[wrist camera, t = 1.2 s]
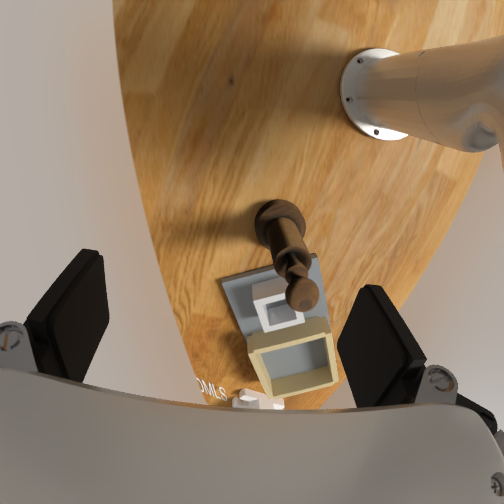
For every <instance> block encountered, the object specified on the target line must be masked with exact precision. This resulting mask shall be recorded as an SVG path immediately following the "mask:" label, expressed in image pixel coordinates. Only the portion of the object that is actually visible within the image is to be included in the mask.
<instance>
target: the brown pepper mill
mask: <svg viewBox="0 0 504 504" xmlns="http://www.w3.org/2000/svg"><path fill="white" fill-rule="evenodd" d="M255 230H256V235H257V238H258V240H259V241H260V243H261V244H262V245H263V246H264V247H265V248H267V249H269V250H270V251H271V255H272V259H273V264H274V269H275V271H276V273H277V274H278V275H279V276H280V277H282V278H285V280H286V282H287V283H288V286H287V288H286V291H285V299H286V302H287V304H288V305H289V307H290V308H292V309H293V310H295V311H297V312H307V311H310V310H312V309H313V308H314V307H315V306H316V305H317V303H318V301H319V295H320V294H319V289H318V286H317V285H316V283H315V282H314V281H313V280H311V279H309V278H308V271H309V269H310V267H311V264H312V258H311V255H310V253H309V251H308V249H307V247H306V245H305V243H304V241H303V237H304V235H305V230H306V225H305V220H304V218H303V216H302V214H301V212H300V210H299V209H298V208H297V207H296V206H295V205H294V204H293V203H291V202H289V201H286V200H274V201H270V202H268V203H266V204H265V205H264V206H263V207H262V208H261V209H260V210H259V211H258V213H257V215H256V218H255Z"/></svg>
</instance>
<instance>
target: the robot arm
mask: <svg viewBox="0 0 504 504" xmlns="http://www.w3.org/2000/svg"><path fill="white" fill-rule="evenodd" d="M357 60H358V61H359V63H358V62H357ZM340 96H341V101H342V104H343V107H344V110H345V112H346V114H347V115H348V117H349V119H350V120H351V121H352V122H353V124H354V125H355V126H356V127H357V128H358V129H360V130H361V131H362V132H364V133H365V134H367V135H369V136H371V137H374V138H376V139H381V140H390V141H393V140H398V139H401V138H404V137H406V136H408V135H410V136H414V137H417V138H421V139H424V140H427V141H431V142H434V143H437V144H440V145H443V146H447V147H450V148H453V149H456V150H459V151H463V152H470V153H475V152H481V151H485V150H488V149H490V148H491V147H493V146H495V145H496V144H498V143H499V147H500V152H501V158H502V166H503V169H504V35H500V36H497V37H494V38H490V39H486V40H482V41H478V42H471V43H465V44H459V45H453V46H445V47H440V48H433V49H427V50H421V51H415V52H410V53H405V54H399V53H397V52H395V51H392V50H389V49H384V48H374V49H368V50H365V51H363V52H361V53H359V54H357V55H355V56H354V57H353V58H352V59H351V60H350V61H349V62H348V64H347V65H346V67H345V68H344V71H343V73H342V76H341V81H340ZM346 98H348V99H349V101H348V102H347V101H346ZM374 130H375V133H373V132H374ZM108 323H109V309H108V300H107V292H106V283H105V272H104V260H103V256H102V255H99V252H98V251H96V250H90V249H82V250H81V251H80V252H79V253H78V254H77V255H76V257H75V258H74V259H73V260H72V261H71V263H70V264H69V265H68V266H67V267H66V268H65V270H64V271H63V272H62V273H61V274H60V275H59V277H58V278H57V279H56V281H55V282H54V283H53V284H52V285H51V287H50V288H49V289H48V291H47V292H46V293H45V294H44V295H43V297H42V298H41V299H40V301H39V302H38V303H37V305H36V306H35V307H34V309H33V310H32V311H31V313H30V314H29V315H28V317H27V320H26V321H25V322H24V324H23V325H22V324H21V323H18V322H14V321H9V322H4V323H1V324H0V504H504V432H503V431H502V430H501V429H500V430H499V431H498V432H497V422H496V419H495V417H494V415H493V414H492V413H491V412H490V411H488V410H487V409H485V408H483V407H481V406H480V405H478V404H476V403H475V402H473V401H471V400H469V399H467V398H466V397H464V396H462V395H460V394H458V393H457V389H458V383H457V380H456V378H455V377H454V375H453V374H452V373H451V372H450V371H449V370H448V369H446V368H444V367H442V366H439V365H430V366H428V367H427V368H426V367H425V365H424V363H425V362H426V360H427V358H426V357H425V355H424V353H423V351H422V350H421V348H420V346H419V345H418V343H417V341H416V340H415V338H414V336H413V335H412V333H411V332H410V330H409V328H408V327H407V325H406V324H405V322H404V320H403V319H402V317H401V316H400V314H399V312H398V311H397V309H396V308H395V306H394V305H393V303H392V302H391V300H390V299H389V297H388V296H387V294H386V293H385V291H384V290H383V288H382V287H381V286H379V285H370V284H366V285H365V286H364V287H363V288H360V290H359V292H358V294H357V297H356V299H355V302H354V304H353V307H352V309H351V311H350V314H349V316H348V319H347V321H346V323H345V326H344V328H343V330H342V332H341V335H340V337H339V339H338V342H337V350H338V353H339V356H340V358H341V361H342V364H343V367H344V370H345V373H346V376H347V379H348V382H349V385H350V388H351V391H352V394H353V397H354V400H355V403H356V406H357V408H349V409H329V410H328V409H326V410H274V409H250V408H235V407H222V406H211V405H201V404H193V403H185V402H177V401H170V400H163V399H157V398H151V397H145V396H140V395H135V394H129V393H125V392H119V391H115V390H110V389H106V388H101V387H97V386H92V385H88V384H84V383H82V382H83V380H84V378H85V375H86V373H87V370H88V368H89V366H90V363H91V361H92V359H93V356H94V354H95V352H96V350H97V347H98V345H99V343H100V341H101V338H102V336H103V334H104V332H105V330H106V328H107V326H108Z"/></svg>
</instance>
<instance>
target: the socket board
mask: <svg viewBox="0 0 504 504" xmlns="http://www.w3.org/2000/svg"><path fill="white" fill-rule="evenodd" d="M311 258H312V264H311V267H310V269H309V271H308V278H309V279H311V280H313V281H314V282H315V283H316V285H317V286H318V289H319V294H320V295H319V301H318V303H317V305H316V306H315V307H314V308H313V309H312V310H310V311H307V312H297V311H295V310H293V309H292V308H290V307H289V305H288V304H287V302H286V299H285V291H286V288H287V286H288V283H287V282H286V280H285V278H282V277H280V276H279V275H278V274H277V273H276V271H275V269H274V265H271V266H267V267H264V268H260V269H256V270H252V271H249V272H245V273H241V274H238V275H234V276H230V277H226V278H222V285H223V288H224V290H225V293H226V295H227V297H228V300H229V302H230V305H231V307H232V310H233V312H234V314H235V317H236V319H237V322H238V324H239V326H240V329H241V331H242V334H243V336H244V338H245V341H246V343H247V347H248V355H249V358H250V360H251V362H252V364H253V367H254V369H255V371H256V373H257V376H258V378H259V380H260V382H261V384H262V387H263V389H264V391H265V393H266V395H267V397H268V399H272V398H274V399H279V398H283V397H288V396H292V395H296V394H301V393H305V392H309V391H312V390H316V389H320V388H324V387H327V386H331V385H334V384H333V383H336V382H339V380H338V372H337V365H336V358H335V352H334V345H333V339H332V332H331V327H330V321H329V315H328V310H327V304H326V298H325V293H324V287H323V282H322V277H321V271H320V266H319V261H318V257H317V255H316V253H315V254H311Z"/></svg>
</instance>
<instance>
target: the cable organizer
mask: <svg viewBox="0 0 504 504" xmlns="http://www.w3.org/2000/svg"><path fill="white" fill-rule="evenodd" d="M232 407H235V408H250V409H274V410H276V409H278V410H282V409H283V408H284V400H283V399H282V398H279V399H274V398H272V399H268V397H267V395H266V394H263V393H260V392H256V391H253V390H249V389H246V388H243V389H242V390H241V391H240V392H239V398H237V397H234V398H233V399H232Z"/></svg>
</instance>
